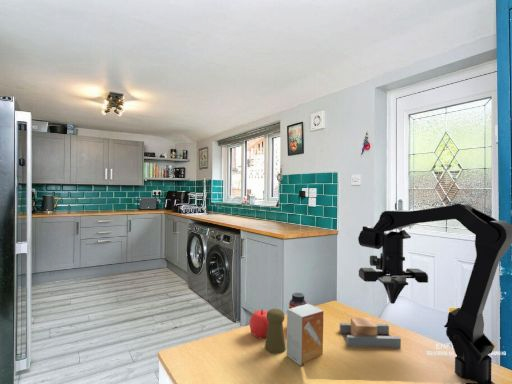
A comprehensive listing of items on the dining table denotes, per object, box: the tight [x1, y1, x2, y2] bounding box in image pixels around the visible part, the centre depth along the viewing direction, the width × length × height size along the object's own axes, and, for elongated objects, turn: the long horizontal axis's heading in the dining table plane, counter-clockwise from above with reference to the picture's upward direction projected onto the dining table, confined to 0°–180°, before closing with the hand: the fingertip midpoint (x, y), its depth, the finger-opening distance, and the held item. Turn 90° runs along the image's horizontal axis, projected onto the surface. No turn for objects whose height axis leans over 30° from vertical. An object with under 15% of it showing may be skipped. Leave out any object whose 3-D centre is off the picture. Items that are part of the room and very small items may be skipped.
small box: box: [286, 303, 324, 367], centre depth 81 cm, size 8×6×13 cm
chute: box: [339, 322, 402, 349], centre depth 89 cm, size 15×10×4 cm, turn 88°
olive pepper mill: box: [264, 308, 287, 355], centre depth 85 cm, size 6×6×11 cm
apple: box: [248, 309, 269, 339], centre depth 93 cm, size 8×8×8 cm
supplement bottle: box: [288, 292, 308, 309], centre depth 98 cm, size 6×6×11 cm
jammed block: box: [350, 317, 378, 336], centre depth 89 cm, size 6×6×5 cm
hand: (392, 303), depth 89 cm, fingers closed
